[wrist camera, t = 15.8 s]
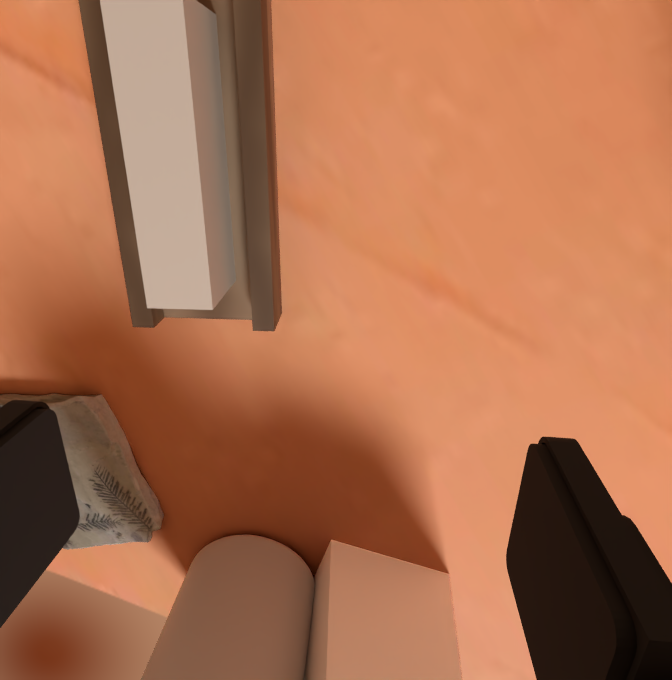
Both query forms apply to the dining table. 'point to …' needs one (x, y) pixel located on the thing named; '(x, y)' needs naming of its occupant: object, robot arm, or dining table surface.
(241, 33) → the brown long channel piece
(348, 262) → the dining table surface
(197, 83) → the beige rectangular block
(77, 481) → the fossil rock
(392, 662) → the milk
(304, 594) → the cylinder vase
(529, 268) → the dining table surface
